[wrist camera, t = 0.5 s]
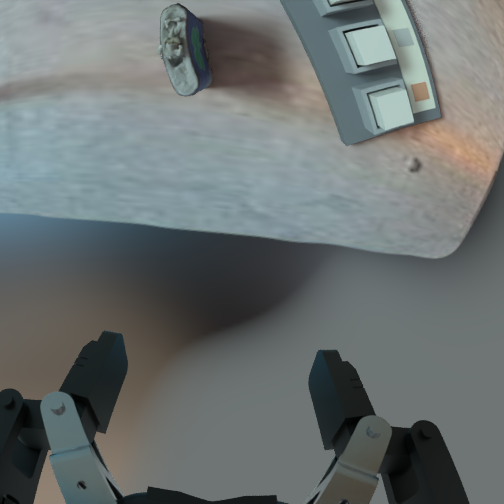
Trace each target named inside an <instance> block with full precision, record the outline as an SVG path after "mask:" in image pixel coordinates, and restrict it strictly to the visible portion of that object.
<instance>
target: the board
mask: <svg viewBox="0 0 504 504" xmlns="http://www.w3.org/2000/svg"><path fill="white" fill-rule="evenodd" d="M280 2H281V4H282V5H283V7H284V9H285V11H286V13H287V15H288V16H289V18H290V20H291V22H292V24H293V26H294V28H295V30H296V32H297V34H298V36H299V38H300V40H301V42H302V44H303V46H304V48H305V50H306V53H307V55H308V57H309V59H310V61H311V63H312V66H313V68H314V70H315V73H316V75H317V77H318V80H319V82H320V84H321V87H322V89H323V92H324V94H325V97H326V99H327V102H328V104H329V107H330V110H331V112H332V115H333V118H334V120H335V123H336V126H337V129H338V132H339V134H340V137H341V140H342V142H343V143H344V144H345V145H346V146H348V145H351V144H354V143H357V142H360V141H363V140H366V139H369V138H372V137H376V136H379V135H382V134H385V133H388V132H391V131H395V130H398V129H401V128H405V127H408V126H412V125H415V124H419V123H422V122H426V121H429V120H433V119H437V118H441V114H440V109H439V104H438V99H437V95H436V90H435V86H434V82H433V78H432V75H431V71H430V67H429V64H428V61H427V57H426V54H425V51H424V48H423V45H422V42H421V39H420V36H419V33H418V31H417V28H416V25H415V23H414V20H413V18H412V15H411V13H410V11H409V8H408V6H407V4H406V1H405V0H358V1H352V2H347V3H342V4H337V5H332V6H330V5H329V3H328V1H327V0H280ZM383 25H384V27H385V29H386V32H387V34H388V37H389V40H390V42H391V45H392V48H393V50H394V53H395V56H396V59H391V60H386V61H382V62H377V63H373V64H369V65H356V63H355V61H354V58H353V56H352V53H351V51H350V48H349V46H348V44H347V41H346V39H345V37H344V35H343V34H344V33H348V32H352V31H357V30H362V29H367V28H372V27H377V26H383ZM391 86H395V87H399V88H402V89H406V91H407V95H408V98H409V102H410V106H411V110H412V114H413V119H414V122H412V123H408V124H405V125H401V126H398V127H395V128H391V129H388V130H384V129H383V128H381V127H380V126H378V125H376V122H375V119H374V116H373V112H372V109H371V106H370V103H369V100H368V97H367V94H366V93H369V92H373V91H376V90H380V89H384V88H388V87H391Z"/></svg>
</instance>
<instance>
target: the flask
mask: <svg viewBox="0 0 504 504" xmlns="http://www.w3.org/2000/svg"><path fill="white" fill-rule="evenodd" d="M203 28H204V27H203V22H202V21H201V20H199V19H198V18H197V17H196V16H195V15H194V14H193V13H191V12H190V11H189V10H188V9H187V8H186V7H184V6H182V5H181V4H179V3H177V4H174V5H171V6H169V7H167V8H165V9H164V10H163V12H162V14H161V18H160V46H159V47H158V54H159V55H161V53H162V56H163V57H162V56H161V57H160V58H161V59H163V60H164V64H165V67H166V70H167V73H168V75H169V79H170V81H171V83H172V85H173V88H174V89H175V91H176V92H177V93H178V94H179V95H181V96H191V95H194V94H196V93H197V92H198V91H201V90H203V89H204V88H207V87H209V86H210V84H211V83H212V79H213V77H212V69H210V67H209V61H208V60H209V53H208V50H207V49H206V48H205V46H204V43H205V42H206V41H205V39H204V38H203V34H204V29H203Z"/></svg>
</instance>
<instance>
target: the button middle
mask: <svg viewBox="0 0 504 504" xmlns="http://www.w3.org/2000/svg"><path fill="white" fill-rule="evenodd" d="M343 35H344V37H345V39H346V41H347V44H348V46H349V48H350V51H351V53H352V56H353V58H354V61H355V63H356V65H369V64H373V63H377V62H382V61H386V60H391V59H396V56H395V53H394V50H393V48H392V45H391V42H390V40H389V37H388V34H387V32H386V29H385V27H384V25H383V26H377V27H372V28H367V29H362V30H357V31H352V32H348V33H344V34H343Z"/></svg>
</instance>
